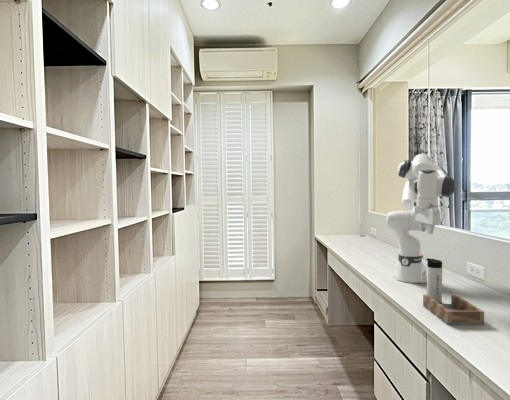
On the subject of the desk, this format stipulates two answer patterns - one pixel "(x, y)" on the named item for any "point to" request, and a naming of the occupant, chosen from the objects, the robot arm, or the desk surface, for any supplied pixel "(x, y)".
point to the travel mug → (434, 279)
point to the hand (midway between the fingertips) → (426, 232)
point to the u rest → (455, 311)
